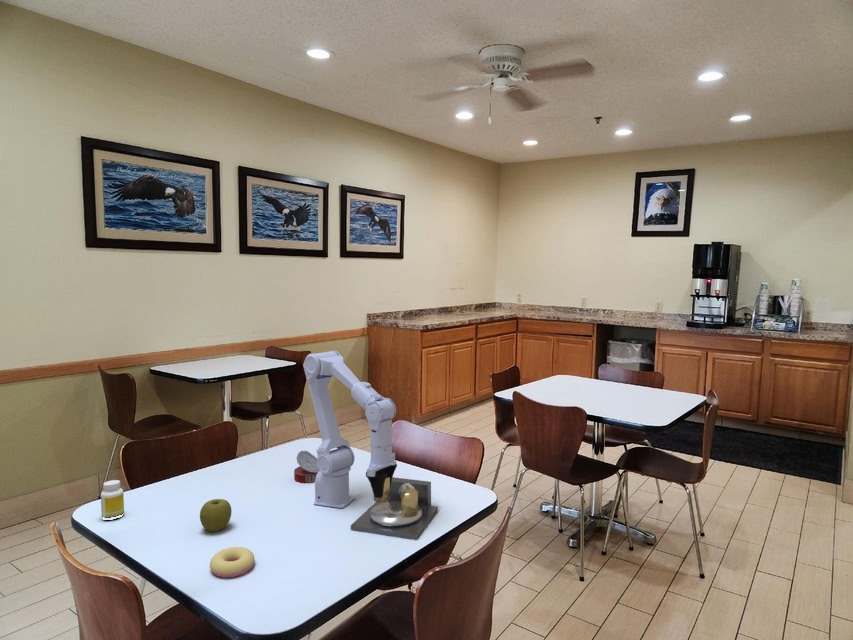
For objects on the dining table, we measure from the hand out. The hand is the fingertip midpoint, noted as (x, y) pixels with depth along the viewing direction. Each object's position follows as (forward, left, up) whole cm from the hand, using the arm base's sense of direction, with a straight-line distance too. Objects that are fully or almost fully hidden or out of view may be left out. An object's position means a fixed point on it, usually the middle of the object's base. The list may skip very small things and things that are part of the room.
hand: (382, 493), depth 147 cm
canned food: (-35, +21, -7) cm, 41 cm away
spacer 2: (+8, 0, -4) cm, 9 cm away
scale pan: (+4, 0, -5) cm, 7 cm away
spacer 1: (0, 0, -2) cm, 2 cm away
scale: (+4, +1, -7) cm, 8 cm away
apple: (-39, -19, -7) cm, 44 cm away
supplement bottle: (-71, -22, -7) cm, 75 cm away
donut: (-22, -34, -7) cm, 41 cm away
